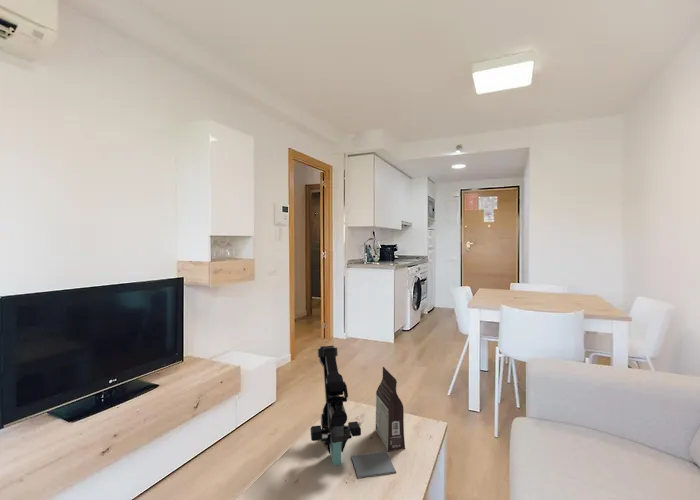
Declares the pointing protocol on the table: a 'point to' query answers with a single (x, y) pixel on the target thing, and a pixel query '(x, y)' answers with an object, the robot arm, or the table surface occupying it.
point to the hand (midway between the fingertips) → (335, 452)
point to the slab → (336, 453)
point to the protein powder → (389, 414)
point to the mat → (372, 464)
